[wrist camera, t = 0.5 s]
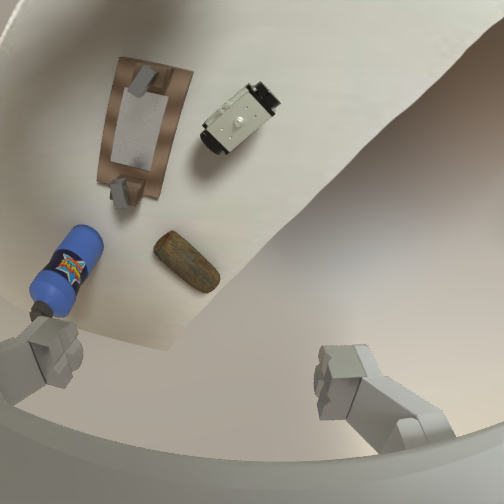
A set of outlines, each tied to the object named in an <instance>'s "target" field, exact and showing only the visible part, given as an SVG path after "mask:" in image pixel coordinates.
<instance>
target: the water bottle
mask: <svg viewBox="0 0 504 504" xmlns="http://www.w3.org/2000/svg"><path fill="white" fill-rule="evenodd" d="M103 248H104V245H103V241H102V238H101V237H100V235H99V234H98V232H97V231H95V230H94V229H93V228H91V227H89V226H86V225H77V226H75V227H74V228H73V229H72V230H71V231H70V232H69V234H68V235H67V236H66V238H65V239H64V240H63V241H62V243H61V244H60V245H59V247H58V248H57V249H56V251H55V252H54V254H53V256H52V258H51V260H50V262H49V263H48V264H47V265H46V267H45V268H44V269H43V270H42V271H40V272H39V273H38V275H37V276H36V277H35V279H34V280H33V282H32V283H31V285H30V288H29V291H30V295H31V297H32V299H33V301H34V302H35V303H34V305H33V307H32V309H31V310H32V311H31V312H30V318H31V321H32V322H33V321H34V320H35V319H36V318H37V317H38V316H45V317H50V318H52V316H54V317H65V316H67V315H68V314H69V312H70V310H71V308H72V306H73V305H74V303H75V300H76V296H77V293H78V291H79V288H80V286H81V285H82V283H83V282H84V281H85V280H86V279H87V277H88V275H89V274H90V272H91V270H92V269H93V267H94V265H95V263H96V262H97V260H98V258H99V257H100V255H101V253H102V251H103Z"/></svg>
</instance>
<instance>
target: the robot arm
mask: <svg viewBox="0 0 504 504" xmlns="http://www.w3.org/2000/svg"><path fill="white" fill-rule="evenodd" d="M77 335H78V330H77V327H76V325H75V324H74V323H72V322H68V321H63V320H59V319H54V318H50V317H45V316H38V317H37V318H36V319H35V320H34V321H33V322H32V323H31V324H30V325H29V326H28V327H27V328H26V329H25V330H24V331H23V332H22V333H21V334H20V335H19V336H18V337H17V338H10V339H7V340H5V341H2V342H0V504H504V422H501V423H498V424H496V425H493V426H490V427H488V428H485V429H482V430H479V431H476V432H473V433H470V434H467V435H463V436H460V437H456V436H455V434H454V432H453V430H452V428H451V426H450V424H449V422H448V420H447V418H446V416H445V415H444V413H443V411H442V410H440V409H439V408H437V407H435V406H434V405H432V404H431V403H429V402H427V401H426V400H424V399H423V398H421V397H419V396H418V395H416V394H415V393H413V392H412V391H410V390H408V389H407V388H405V387H404V386H402V385H401V384H399V383H398V382H396V381H394V380H393V379H391V378H390V377H388V376H383V375H382V373H381V370H380V368H379V366H378V364H377V362H376V360H375V358H374V356H373V353H372V351H371V349H370V347H369V346H368V345H367V344H359V345H348V346H347V345H345V346H321V347H320V350H319V355H318V358H319V362H320V363H319V365H317V366H316V368H315V374H314V391H315V395H316V396H317V397H318V398H319V399H318V403H317V408H318V413H319V418H320V420H345V419H347V420H346V421H347V422H348V423H349V424H350V425H351V426H352V427H353V428H354V429H355V430H356V431H357V432H358V433H359V434H360V435H361V436H362V437H363V438H364V439H365V440H366V441H367V442H368V443H369V444H370V445H371V446H372V447H373V448H374V449H375V450H376V451H377V452H378V453H379V454H378V455H372V456H364V457H356V458H348V459H347V458H346V459H336V460H322V461H302V462H301V461H300V462H260V461H238V460H222V459H213V458H203V457H195V456H187V455H180V454H174V453H168V452H161V451H156V450H151V449H145V448H141V447H136V446H131V445H127V444H123V443H119V442H115V441H111V440H107V439H103V438H100V437H96V436H93V435H90V434H86V433H83V432H80V431H76V430H74V429H71V428H68V427H65V426H62V425H59V424H56V423H53V422H51V421H48V420H45V419H43V418H40V417H38V416H35V415H33V414H30V413H28V412H25V411H23V410H21V409H18V408H16V407H14V405H15V404H17V403H19V402H20V401H22V400H23V399H25V398H26V397H28V396H29V395H31V394H33V393H34V392H36V391H37V390H39V389H40V388H42V387H44V386H45V385H46V384H48V385H52V386H55V387H59V388H63V389H65V388H66V386H67V385H68V383H69V382H70V380H71V379H72V377H73V376H72V372H73V371H75V370H77V369H78V368H79V367H80V365H81V363H82V360H83V348H82V345H81V343H80V342H79V340H78V339H77Z"/></svg>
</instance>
